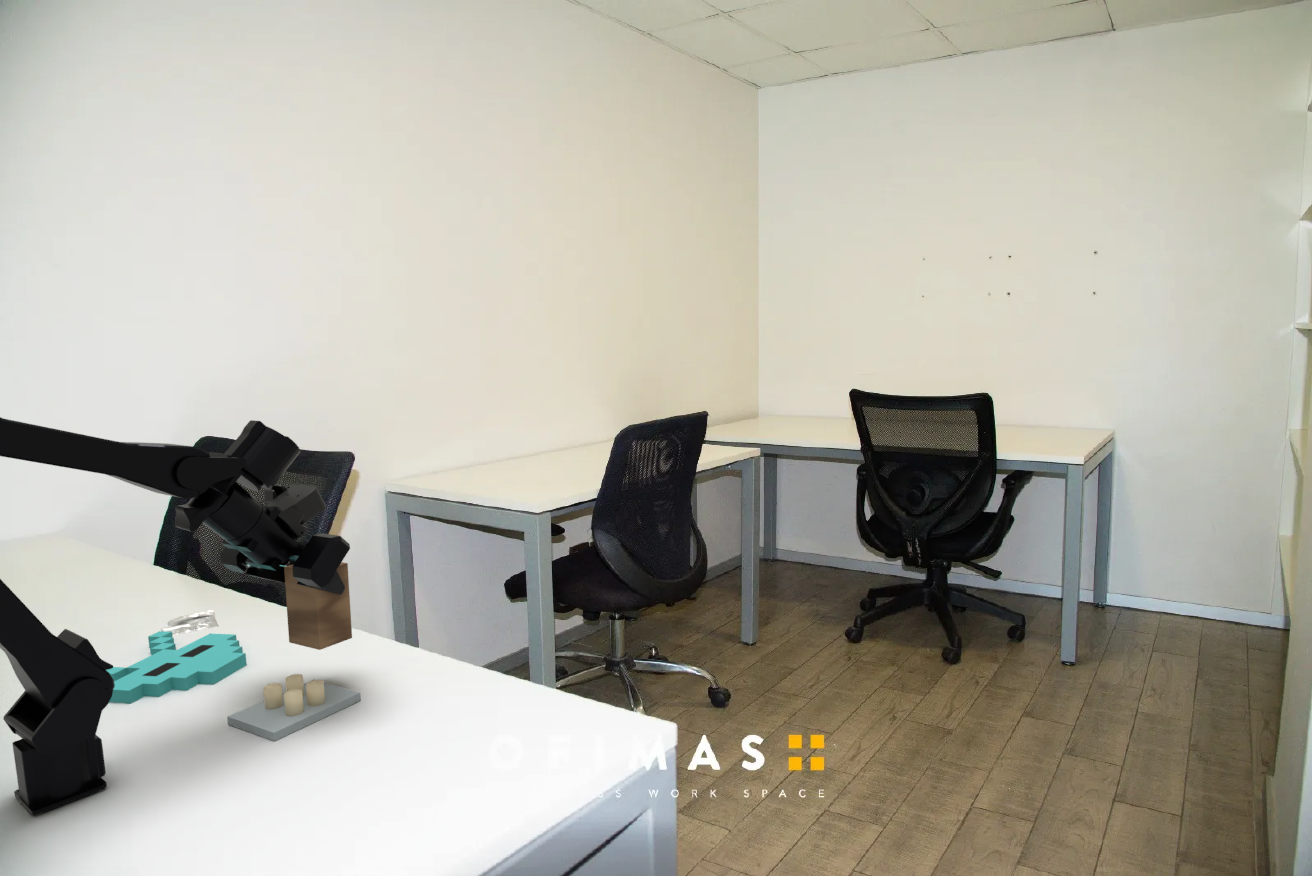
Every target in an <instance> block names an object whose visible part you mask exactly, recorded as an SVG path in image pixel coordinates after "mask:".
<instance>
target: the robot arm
mask: <svg viewBox="0 0 1312 876" xmlns="http://www.w3.org/2000/svg"><path fill="white" fill-rule="evenodd" d="M300 454H301V448H300V447H299V446H298V444H297V443H296V442H295V441H293V439H291V438H290V437H289V436H287V435H283V434H282V433H281V432H279V431H278V430H275V429H274V428H271V427H269V426H267V425H266V424H265V423H263V421H260V420H254V419H253V420H249V421H248V423H247V424H246V425H245V426H244V427H243V429H242V431H241V433H240V434H239V436H237V438H236V439H235V440H234V441H233V443H232V444H231V445H230V446H229V447H228V448H227V449H226V451H225V452H224V453H221V452H220V453H219V452H212V451H209V452H208V451H206V450H205V449H202V448H200V447H197V446H193V445H192V446H191V445H184V444H174V443H164V442H163V443H160V442H138V441H137V442H135V441H134V442H131V441H130V442H129V441H128V442H127V441H116V440H111V439H107V438H106V439H105V438H101V437H96V436H91V435H86V434H83V433H82V434H81V433H77V432H71V431H68V430H67V431H66V430H62V429H58V428H51V427H46V426H41V425H37V424H32V423H27V422H22V421H18V420H11V419H8V418H7V419H6V418H4V417H2V416H1V417H0V457H4V458H9V459H15V460H21V461H25V462H31V463H32V462H33V463H39V464H42V465H49V466H55V467H61V468H67V469H73V470H79V471H84V472H85V471H86V472H89V473H96V474H101V475H102V474H103V475H106V476H109V477H111V478H112V477H113V478H114V479H117V480H119V481H122V482H125V483H127V484H129V485H133V486H135V487H139V488H142V489H144V490H148V491H151V492H153V493H156V494H161V495H164V496H165V495H166V496H170V497H176V498H181V499H189V501H188V502H186V503H185V504H182V505H179V504H178V505H176V506H175V507H174V508H175V512H176V515H175V518H174V527H176V528H178V529H181V530H184V531H188V532H190V533H195V532H196V531H197V530H198V529H199V528H200V526H201V525H202V524H203V525H204V526H205V527H207V528H208V529H210V530H211V531H213V532H214V533H215V534H217V535H218V536H219V537H220V538H221V539H223V540H222V542H221V544H222V545H223V546H224V548H223V549H222V551H220V553H219V554H220V555H219V556H220V564H221V565H223V566H224V567H225V568H227V569H228V570H230V571H231V572H235V573H240V574H244V573H246V575H247V576H250V577H255V578H260V579H264V580H268V581H273V582H278V583H283V584H285V574H284V567H287V566H289V565H293V566H292V569H293V577H294V578H295V579H297V580H298V583H297V585H301V586H305V587H310V588H314V589H318V590H323V591H327V592H331V593H335V594H340V595H341V594H342V593H343V591H344V590H345V585H344V584H343V582H342V580H341V578H340V576H339V574H338V572H337V568H338V567H339V565H340V564H341V562H343V561H344V559H345V557H346V556H347V554H348V552H349V551H350V549H351V546H350V543H349V542H348V541H347V540H345V539H344V537H342V536H341V535H335V534H330V533H323V532H320V533H317V534H313V535H312V536H311V537H310V539H309V541H308V542H306V541H299V540H298V539H299V538H302V537H303V536H304V534H305V533H306V532H307V528H306V527H304V525H305V524H306V523H308V522H309V521H310V520H311V519H313V518H314V517H316V515H318V514H319V513H323V512H324V511H325V510H326V509H327V506H326V503H325V501H324V499H323V497H322V495H321V493H320V491H319V488H318V487H317V486H316V485H314V484H313V485H312V484H301V483H300V484H294V485H292V484H289V485H287V487H285V486H284V485H282V484H277V482H278V481H279V480H280V478H281V477H282V476H283V475H284V474H285V473H286V471H287V470H288V469H289V467H290V466H291V465H292V464H293V462H294V461H295V460H296V458H297V457H298V456H299V455H300ZM245 488H247V489H248V490H250V491H253V492H260V490H261V488H263V489H264V492H263V493H264V504H265V505H264V504H263V503H262V502H261V501H259V499H257V498H256V497H254V495H252V494H251V493H250V492H248V491H247V489H245ZM0 649H1V650H2V651H3V653H4V654H5V655H6V657H7V659H8V660H9V663H10V665H11V668H12V669H13V672H14V673H15V676H16V677H17V679H18V681H19V683H20V685H21V686H22V688H23V689H24V692H23V693H22V694H21V695H20V696H19V698H18V699H17V700H16V701H15V702H14V703H13V705H12V706H11V707H10V708H9V710H8V711H7V712H6V713H5V714H4V716H3V721H4V722H5V724H6V725H7V727H8V728H9V729H10V731H11V732H12V733H13V734H14V735H17V736H18V737H20V739H19V740H15V741H13V742H12V750H13V758H14V763H15V764H14V765H15V771H16V779H17V788H18V789H16V790H14V798H15V799H17V800H18V802H19V803H20V804H21V805H22V806H23V807H24V808H25V810H27V812H29V813H30V815H31V816H36V815H39V814H42V813H45V812H47V811H50V810H52V809H55V808H58V807H60V806H63V805H66V804H68V803H70V802H74V801H76V800H79V799H81V798H84V797H86V796H89V795H91V794H95V793H97V792H99V791H102V790H104V789H106V788H107V787H108V784H107V781H106V780H105V779H104V778H103V777H104V776H106V773H107V772H106V764H105V758H104V749H103V748H104V747H103V740H102V738H101V737H100V736H98V735H97V731H98V727H99V724H100V720H101V717H102V713H103V710H104V709H106V707H107V706H108V705H109V703H110V702H109V701H110V699H111V697H112V694H113V689H114V687H115V684H114V680H113V678H112V677H111V675H110V673H109V672H107V671H106V670H108V669H112V668H113V667H114V665H113V664H111V663H109V662H107V661H106V660H104V659H102V658H100V656H99V654H98V653H97V651H96V649H95V648H94V646H93V644H92V643H91V641H89V639H88V638H86V637H83V636H81V635H79V634H77V633H76V632H73V631H71V630H70V629H68V628H64V629H63V630H62V631H61V632H60V633H59V634H58V635H57V636H56V635H54V633H52V632H51V631H50V630H49V629H48V628H47V627H46V626H45V625H44V623H42V622H41V620H40V619H39V618H38V617H37V616H36V614H35V613H33V612H32V611H31V610H30V609H29V608H28V606H26V605H25V603H24V602H22V600H21V599H20V598H19V597H18V596H17V594H16V593H14V591H12V589H10V588H9V586H8V585H7V584H6V583H5V582H4V581H3V580H2V579H1V578H0Z"/></svg>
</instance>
